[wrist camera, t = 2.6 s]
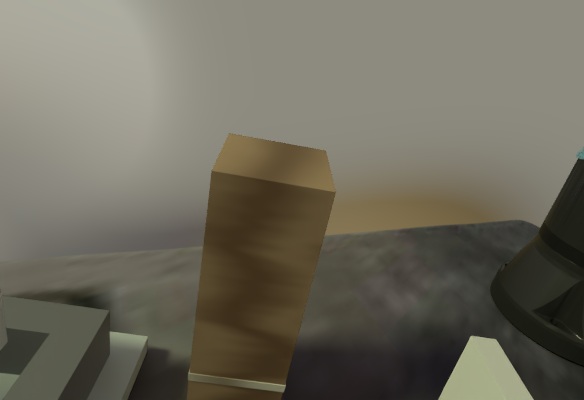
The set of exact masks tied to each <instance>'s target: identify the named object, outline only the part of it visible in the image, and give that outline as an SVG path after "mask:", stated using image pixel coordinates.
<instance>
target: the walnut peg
mask: <svg viewBox="0 0 584 400" xmlns="http://www.w3.org/2000/svg"><path fill="white" fill-rule="evenodd" d="M335 193H336V191H335V187H334V183H333V178H332V174H331V170H330V166H329V162H328V157H327V154H326V151H324V150H319V149H313V148H308V147H302V146H297V145H291V144H286V143H280V142H275V141H269V140H263V139H258V138H252V137H246V136H242V135H236V134H230V133H229V135H228V137H227V139H226V141H225V143H224V145H223V148H222V150H221V152H220V154H219V156H218V158H217V160H216V163H215V165H214V167H213V169H212V173H211V182H210V191H209V200H208V210H207V219H206V227H205V237H204V245H203V254H202V263H201V273H200V282H199V291H198V300H197V309H196V318H195V327H194V336H193V345H192V354H191V363H190V370H189V373H188V380H189V381H188V390H187V399H186V400H281V398H282V394H283V392H284V390H285V387H286V379H287V375H288V372H289V368H290V364H291V360H292V356H293V353H294V349H295V345H296V341H297V337H298V334H299V330H300V326H301V322H302V318H303V315H304V311H305V307H306V303H307V300H308V296H309V292H310V288H311V284H312V281H313V277H314V273H315V269H316V265H317V262H318V258H319V254H320V250H321V246H322V243H323V239H324V235H325V231H326V227H327V224H328V220H329V216H330V212H331V209H332V205H333V201H334V197H335Z"/></svg>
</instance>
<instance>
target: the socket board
mask: <svg viewBox="0 0 584 400" xmlns="http://www.w3.org/2000/svg"><path fill="white" fill-rule="evenodd" d="M1 298H2V305H3V312H4V319H5V326H6V333H7V340H8V342H7V343H6V344H5V346H4V347H3V348H2V349H1V350H0V400H128V397H129V395H130V392H131V390H132V387H133V385H134V382H135V380H136V378H137V375H138V373H139V370H140V368H141V365H142V363H143V360H144V358H145V355H146V353H147V347H148V337H147V336H139V335H132V334H124V333H117V332H110V311H108V310H101V309H94V308H87V307H80V306H73V305H65V304H58V303H51V302H44V301H37V300H29V299H22V298H15V297H8V296H1Z"/></svg>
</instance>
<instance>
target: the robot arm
mask: <svg viewBox="0 0 584 400" xmlns="http://www.w3.org/2000/svg"><path fill="white" fill-rule="evenodd" d="M577 157H578V160H577V162H576V164H575V165H574V167H573V169H572V171H571V173H570V175H569V177H568V178H567V180H566V182H565V184H564V185H563V188H562V189H561V191H560V193H559V195H558V197H557V198H556V200H555V202H554V204H553V206H552V208H551V209H550V211H549V213H548V215H547V217H546V218H545V220H544V222H543V224H542V226H541V228H540V229H539V231H538V233H537V235H536V236H535V237H534V238H533V239H532V240H531V241H530V242H529V243H528V244H527V245H526V246H525V247H524V248H523V249H522V250H521V251H520V252H519V253H518V254H517V255H516V256H515V257H514V258H513V259H512V260H510V261H508V262H506V263H505V264H504V265H502V266H501V268H500V269H499V270H498V272H497V274H496V276H495V278H494V280H493V282H492V284H491V295H492V298H493V300H494V302H495V304H496V305H497V307H498V308H499V310H500V311H501V312H502V313H503V315H504V316H505V317H506V318H507V319H508V320H509V321H510V322H511V323H512V324H513V325H514V326H515V327H517V328H518V329H519V330H520V331H521V332H523V333H524V334H525V335H527V336H528V337H529V338H531V339H532V340H534V341H535V342H537V343H538V344H540V345H541V346H543V347H545V348H546V349H548V350H550V351H552V352H554V353H555V354H557V355H559V356H561V357H563V358H566V359H568V360H570V361H572V362H575V363H577V364H580V365H583V366H584V147H583V149H582V150H580V151H579V152H578V153H577ZM7 342H8V340H7V333H6V326H5V319H4V312H3V305H2V298H1V291H0V350H1V349H2V348H3V347H4V346H5V344H6V343H7ZM438 400H533V398H532V397H531V395H530V393H529V392H528V390H527V389H526V387H525V385H524V384H523V382H522V381H521V379H520V377H519V376H518V374H517V373H516V371H515V369H514V368H513V366H512V364H511V363H510V361H509V360H508V358H507V356H506V355H505V353H504V352H503V350H502V348H501V347H500V345H499V343H498V342H497V340H496V339H489V338H483V337H476V336H471V337H470V339H469V341H468V343H467V345H466V347H465V349H464V351H463V353H462V355H461V357H460V358H459V360H458V362H457V364H456V366H455V368H454V370H453V372H452V374H451V376H450V378H449V380H448V382H447V383H446V385H445V387H444V389H443V391H442V393H441V395H440V397H439V399H438Z"/></svg>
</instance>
